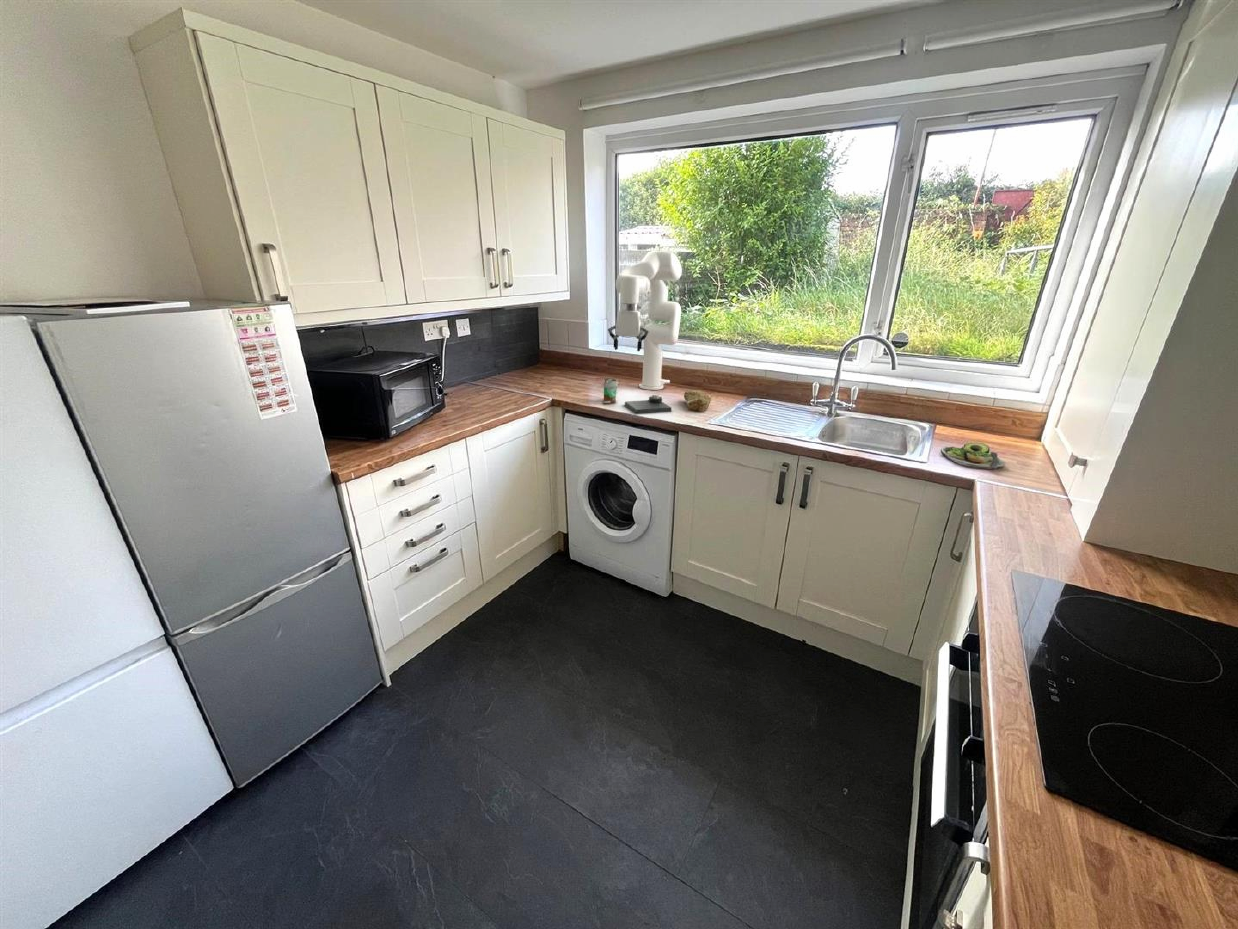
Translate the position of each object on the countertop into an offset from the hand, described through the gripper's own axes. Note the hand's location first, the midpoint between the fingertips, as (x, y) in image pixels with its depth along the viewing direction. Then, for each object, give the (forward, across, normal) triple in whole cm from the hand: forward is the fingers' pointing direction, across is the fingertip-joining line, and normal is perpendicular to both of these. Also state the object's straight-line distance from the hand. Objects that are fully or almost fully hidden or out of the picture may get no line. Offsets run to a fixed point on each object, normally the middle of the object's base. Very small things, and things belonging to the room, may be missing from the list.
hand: (627, 350), depth 210 cm
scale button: (+21, -13, -5) cm, 25 cm away
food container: (+24, +7, -4) cm, 26 cm away
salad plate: (+24, -125, +32) cm, 131 cm away
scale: (+24, -10, +2) cm, 26 cm away
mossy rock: (+24, -30, -9) cm, 40 cm away
